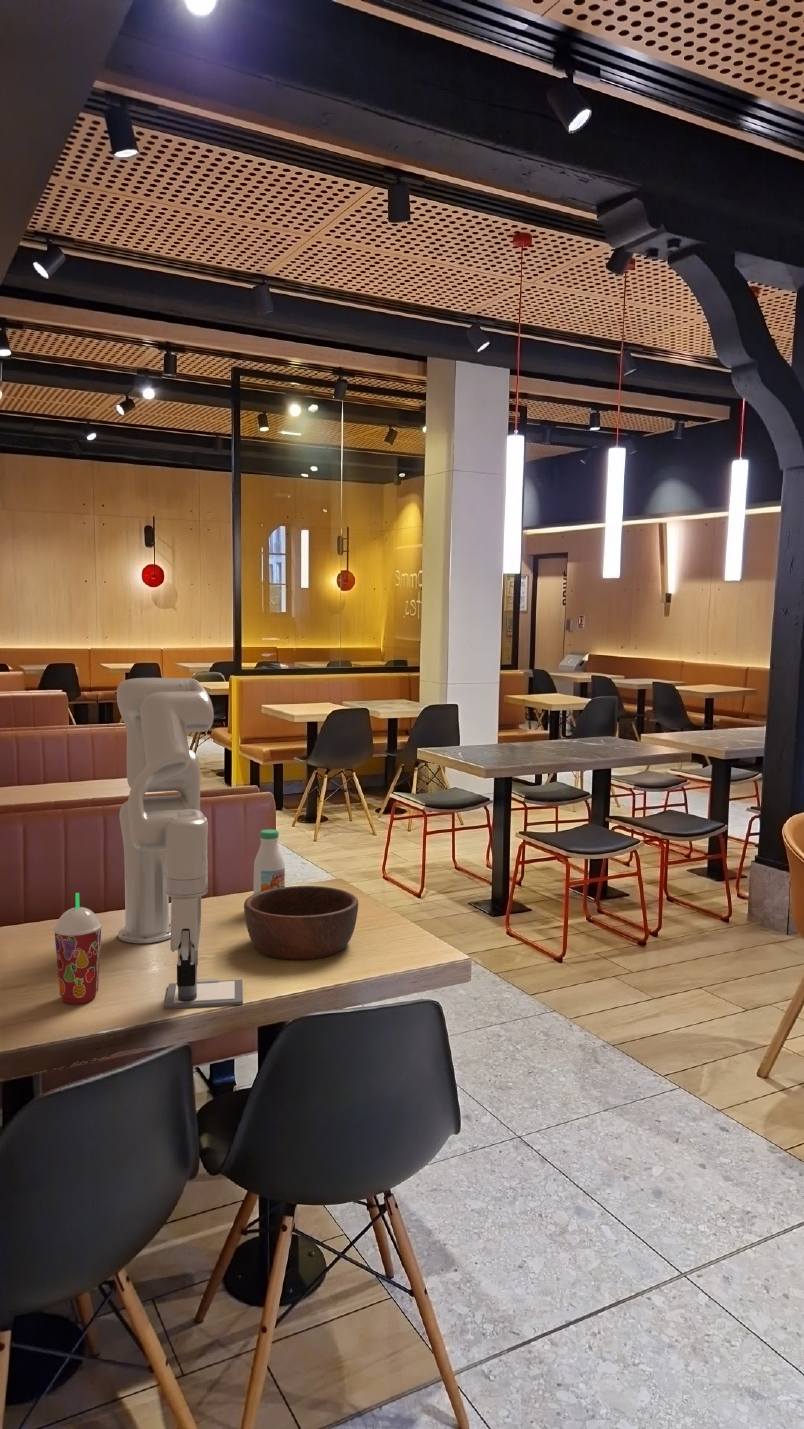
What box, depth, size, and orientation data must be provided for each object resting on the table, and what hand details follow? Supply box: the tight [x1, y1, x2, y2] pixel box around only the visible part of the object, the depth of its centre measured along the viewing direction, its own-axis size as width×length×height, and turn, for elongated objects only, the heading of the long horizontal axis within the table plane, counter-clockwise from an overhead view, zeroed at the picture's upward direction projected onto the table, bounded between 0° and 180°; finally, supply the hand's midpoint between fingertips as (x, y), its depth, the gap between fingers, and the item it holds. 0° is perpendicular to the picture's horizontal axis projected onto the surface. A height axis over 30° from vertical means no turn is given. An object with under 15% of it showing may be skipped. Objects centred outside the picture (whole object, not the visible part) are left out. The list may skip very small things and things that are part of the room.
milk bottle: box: [253, 829, 286, 894], centre depth 227 cm, size 8×8×20 cm
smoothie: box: [53, 892, 103, 1005], centre depth 170 cm, size 8×8×20 cm
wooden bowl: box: [243, 885, 359, 961], centre depth 201 cm, size 25×25×10 cm
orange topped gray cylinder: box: [178, 946, 198, 1002], centre depth 169 cm, size 4×4×11 cm
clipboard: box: [164, 977, 244, 1010], centre depth 172 cm, size 11×14×1 cm
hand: (187, 976), depth 169 cm, fingers open, 9 cm apart
